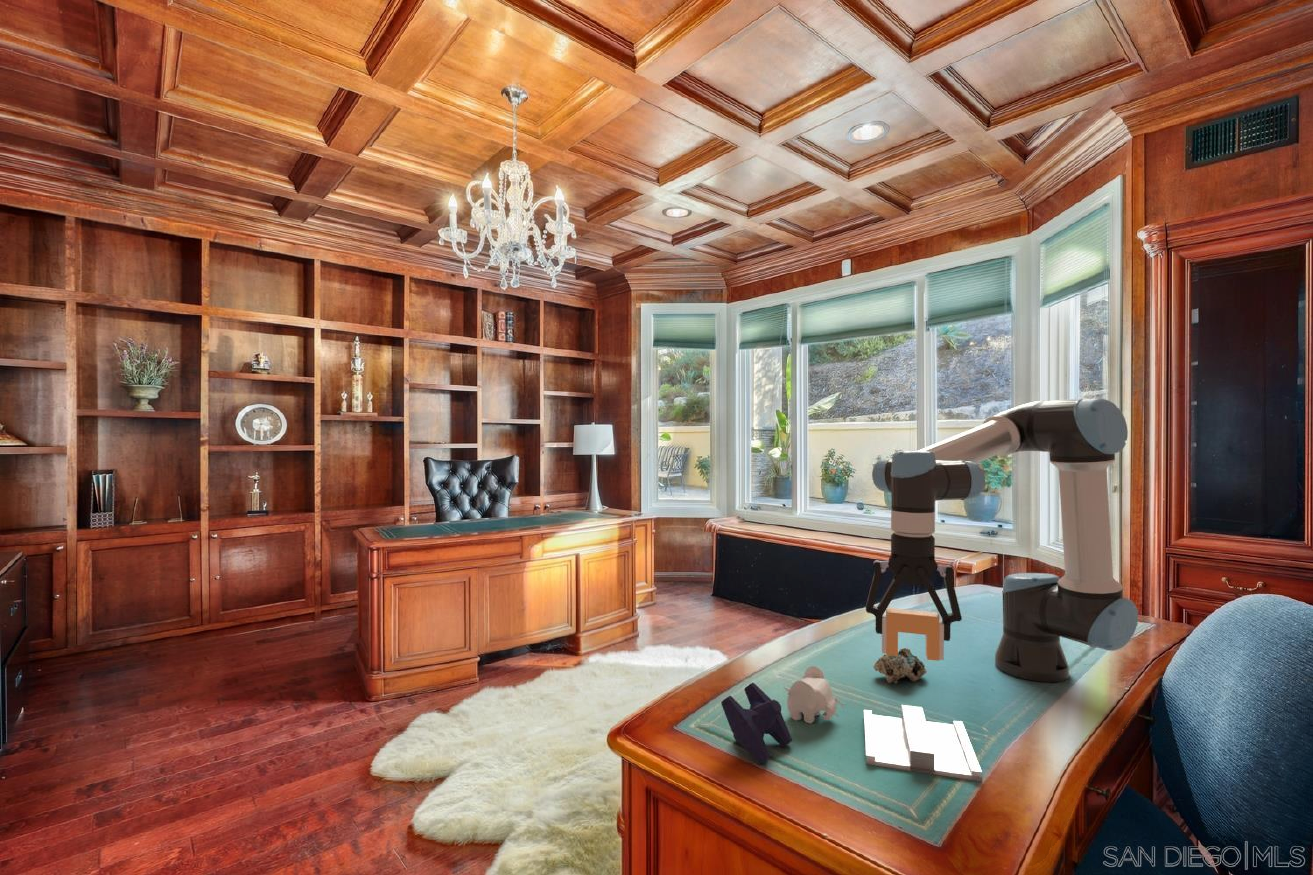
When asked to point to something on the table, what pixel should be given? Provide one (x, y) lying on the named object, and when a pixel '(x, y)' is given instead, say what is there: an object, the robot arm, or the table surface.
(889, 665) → the mineral specimen
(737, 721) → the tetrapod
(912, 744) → the rail
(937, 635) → the clip
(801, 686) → the elephant figurine
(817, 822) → the table surface
